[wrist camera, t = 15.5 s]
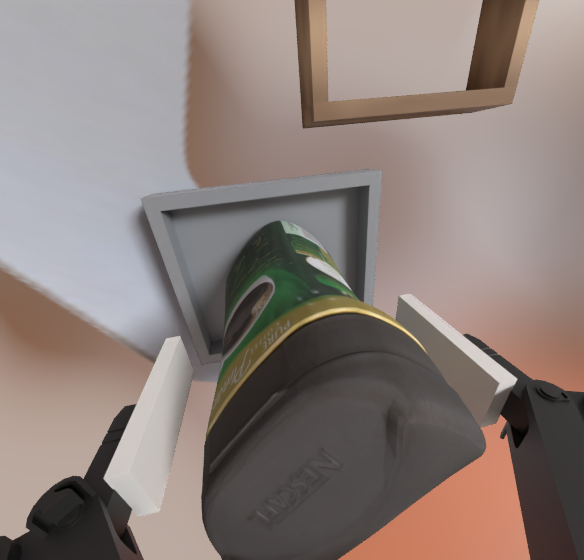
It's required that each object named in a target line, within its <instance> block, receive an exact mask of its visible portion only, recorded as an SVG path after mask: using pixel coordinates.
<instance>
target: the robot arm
mask: <svg viewBox="0 0 584 560" xmlns="http://www.w3.org/2000/svg"><path fill="white" fill-rule="evenodd" d="M396 321H397V322H398V323H400V324H401V325H402V326H403V327H404V328H405V329H406V330H407V331H409V332H410V333H411V334H412V335H413V336H414V337H415V338H416V339H417V340H418V341H419V342H420V344H421V345H422V346H423V347H424V349H425V351H426V352H427V355H428V356H429V357H430V359H431V360H432V361H433V363H434V364H435V365H436V367H437V368H438V369H439V371H440V372H441V374H442V375H443V377H444V378H445V380H446V381H447V383H448V385H450V386H451V387H452V388H453V389H454V390H455V391H456V392H457V393H458V394H459V396H460V398H461V399H462V401H463V402H464V404H465V405H466V407H467V408H468V409H469V411H470V412H471V414H472V415H473V417H474V419H475V420H476V422H477V424H478V425H479V427H484V426H488V425H492V424H495V423H496V422H497V420H498V418H499V416H500V414H501V415H502V416H503V417H504V418H505V419H506V420H507V422H506V424H505V426H504V428H503V430H502V432H501V435H500V438H502V439H504V437H505V435H506V434H507V436H508V442H509V447H510V452H511V458H512V463H513V468H514V474H515V479H516V485H517V490H518V495H519V500H520V506H521V511H522V517H523V522H524V527H525V533H526V538H527V543H528V549H529V554H530V559H531V560H584V392H573V391H564V390H563V389H561V388H559V387H557V386H556V385H554V384H551V383H548V382H546V381H541V380H532V379H531V378H529V377H528V376H527V375H525V374H524V373H523V372H522V371H520V370H519V369H518V368H516V367H515V366H514V365H512V364H511V363H510V362H508V361H507V360H506V359H504V358H503V357H502V356H500V355H498V354H497V353H496V352H495V351H494V350H492V349H490V348H489V346H487V345H486V344H485V343H483V342H482V341H481V340H479V339H477V338H475V337H473V336H471V335H469V334H464V335H461V334H460V333H459V332H458V331H457V330H455V329H454V328H453V327H452V326H450V325H449V324H447V322H445V321H444V320H443V319H441V318H440V317H439V316H438V315H436V314H435V313H434V312H433V311H431V310H430V309H429V308H428V307H426V306H425V305H424V304H423V303H421V302H420V301H419V300H418V299H416V298H415V297H414V296H413V295H411V294H405V295H401V296H399V298H398V306H397V314H396ZM193 374H194V369H193V367H192V364H191V362H190V359H189V357H188V354H187V352H186V349H185V347H184V344H183V342H182V339H181V336H176V337H171V338H166V339H165V342H164V344H163V346H162V348H161V351H160V353H159V355H158V357H157V360H156V362H155V364H154V366H153V369H152V371H151V374H150V375H149V377H148V380H147V382H146V384H145V386H144V389H143V391H142V393H141V395H140V398H139V400H138V402H137V404H134V405H130V406H125V407H124V408H123V409H122V410H121V411H120V413H119V414H118V415H117V416H116V417H115V418H114V420H113V422H112V424H111V426H110V428H109V430H108V434H106V436H105V438H104V440H103V442H102V445H101V446H100V447H99V449H98V451H97V453H96V455H95V457H94V459H93V461H92V463H91V465H90V467H89V469H88V471H87V473H86V475H85V477H84V479H82V478H81V477H80V476H72V477H69V478H66V479H63V480H62V481H60V482H58V483H57V484H55V485H54V486H52V487H51V488H50V489H49V490H48V491H47V492H46V493H45V494H44V495H42V497H41V498H40V499H39V500H38V501H37V503H36V504H35V505H34V506H33V508H32V510H31V512H30V514H29V516H28V518H27V523H26V528H28V529H29V530H30V531H29V532H27V533H25V534H24V535H22V536H20V537H19V538H17V539H15V540H11V539H9V538H8V537H6V536H0V560H144V559H143V557H142V555H141V552H140V550H139V548H138V545H137V543H136V541H135V538H134V536H133V533H132V531H131V529H130V527H129V526H128V525H127V523H128V520H129V517H130V514H131V511H133V512H134V513H135V514H136V515H137V517H141V516H144V515H148V514H152V513H156V512H159V511H160V510H161V506H162V501H163V497H164V493H165V489H166V485H167V481H168V477H169V472H170V468H171V464H172V460H173V456H174V452H175V448H176V444H177V440H178V435H179V431H180V427H181V423H182V419H183V414H184V410H185V407H186V402H187V398H188V394H189V390H190V386H191V382H192V378H193Z"/></svg>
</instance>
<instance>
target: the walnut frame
mask: <svg viewBox="0 0 584 560" xmlns="http://www.w3.org/2000/svg"><path fill="white" fill-rule="evenodd" d="M538 3H539V0H483V3H482V8H481V14H480V18H479V24H478V29H477V35H476V40H475V45H474V51H473V56H472V61H471V66H470V72H469V77H468V83H467V88H466V91H456V92H444V93H431V94H419V95H407V96H395V97H382V98H371V99H358V100H347V101H333V102H328V71H327V25H326V24H327V23H326V0H295V12H296V27H297V44H298V60H299V74H300V75H299V76H300V90H301V91H300V92H301V105H302V106H301V107H302V123H303V128H312V127H323V126H334V125H344V124H355V123H365V122H377V121H387V120H397V119H409V118H419V117H430V116H441V115H450V114H462V113H472V112H477V111H481V110H486V109H490V108H495V107H499V106H504V105H508V104H512V102H513V98H514V94H515V90H516V86H517V83H518V79H519V75H520V72H521V68H522V64H523V60H524V57H525V52H526V48H527V45H528V41H529V38H530V34H531V30H532V26H533V22H534V19H535V15H536V11H537V7H538Z"/></svg>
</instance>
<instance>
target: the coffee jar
mask: <svg viewBox="0 0 584 560" xmlns="http://www.w3.org/2000/svg"><path fill="white" fill-rule="evenodd" d="M485 449H486V442H485V437H484V434H483V432H482V430H481V429H480V427H479V425H478V424H477V422H476V420H475V419H474V417H473V415H472V414H471V412H470V411H469V409H468V408H467V407H466V405H465V404H464V402H463V401H462V399H461V398H460V396H459V394H458V393H457V392H456V391H455V390H454V389H453V388H452V387H451V386H450V385H448V383H447V381H446V380H445V378H444V377H443V375H442V374H441V372H440V371H439V369H438V368H437V367H436V365H435V364H434V363H433V361H432V360H431V359H430V357H429V356H428V355H427V352H426V351H425V349H424V347H423V346H422V345H421V344H420V342H419V341H418V340H417V339H416V338H415V337H414V336H413V335H412V334H411V333H410V332H409V331H407V330H406V329H405V328H404V327H403V326H402V325H401V324H400V323H398V322H397V321H396V320H394V319H393V318H392V317H390V316H389V315H387V314H386V313H384V312H382V311H380V310H379V309H377V308H375V307H373V306H371V305H369V304H366V303H364V302H362V301H360V300H359V299H358V298H357V297H356V296H355V294H354V293H353V292H352V290H351V288H350V287H349V285H348V284H347V282H346V281H345V279H344V278H343V276H342V274H341V273H340V271H339V269H338V268H337V266H336V264H335V262H334V261H333V259H332V257H331V256H330V254H329V253H328V251H327V250H326V249H325V248H324V246H323V245H322V244H321V243H320V242H319V241H318V240H317V239H316V238H315V237H314V236H313V235H311V234H310V233H309V232H307V231H306V230H304V229H303V228H301V227H299V226H297V225H296V224H294V223H291V222H288V221H274V222H271V223H268V224H267V225H265V226H263V227H262V228H261V229H260V230H259V231H258V232H257V233H256V234H255V235H254V237H253V238H252V239H251V240H250V241H249V242H248V244H247V245H246V246H245V248H244V249H243V251H242V252H241V254H240V255H239V257H238V258H237V260H236V261H235V263H234V265H233V267H232V269H231V271H230V273H229V275H228V278H227V281H226V289H225V320H224V336H223V349H222V359H221V366H220V372H219V377H218V383H217V388H216V392H215V397H214V401H213V406H212V410H211V415H210V419H209V424H208V429H207V434H206V441H205V446H204V467H203V487H202V496H201V497H202V498H201V499H202V519H203V524H204V527H205V530H206V533H207V535H208V538H209V539H210V541H211V543H212V545H213V546H214V548H215V549H216V550H217V552H218V553H219V554H220V556H221V558H222V560H338V559H339V558H340V557H342V556H343V555H345V554H346V553H347V552H349V551H350V550H352V549H353V548H354V547H356V546H358V545H359V544H360V543H362V542H363V541H365V540H366V539H367V538H369V537H370V536H372V535H373V534H375V533H376V532H377V531H379V530H380V529H381V528H382V527H384V526H385V525H386V524H388V523H389V522H390V521H391V520H393V519H394V518H395V517H397V516H398V515H399V514H400V513H402V512H403V511H404V510H406V509H407V508H408V507H410V506H411V505H412V504H414V503H415V502H416V501H418V500H419V499H420V498H422V497H423V496H424V495H426V494H427V493H428V492H430V491H431V490H432V489H434V488H435V487H436V486H438V485H439V484H441V483H442V482H443V481H445V480H446V479H447V478H449V477H450V476H452V475H453V474H455V473H456V472H458V471H459V470H461V469H462V468H464V467H465V466H467V465H468V464H470V463H471V462H473V461H474V460H476V459H478V458H479V457H481V456H482V455H483V453H484V452H485Z"/></svg>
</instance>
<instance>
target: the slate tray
mask: <svg viewBox="0 0 584 560" xmlns="http://www.w3.org/2000/svg"><path fill="white" fill-rule="evenodd" d="M381 183H382V170H374V169H364V170H355V171H347V172H338V173H329V174H320V175H312V176H303V177H295V178H287V179H278V180H269V181H260V182H252V183H243V184H236V185H227V186H218V187H210V188H200V189H192V190H183V191H175V192H166V193H157V194H152V195H149V196H146V197H143V198H140V199H141V202H142V204H143V207H144V210H145V212H146V215H147V218H148V221H149V223H150V226H151V229H152V231H153V234H154V237H155V240H156V242H157V245H158V248H159V250H160V253H161V256H162V259H163V261H164V264H165V267H166V270H167V272H168V275H169V278H170V280H171V283H172V286H173V289H174V291H175V294H176V297H177V299H178V302H179V305H180V308H181V310H182V313H183V316H184V318H185V321H186V324H187V327H188V329H189V332H190V335H191V338H192V340H193V343H194V346H195V348H196V351H197V354H198V357H199V359H200V362H201V365H204V364H209V363H214V362H219V361H221V359H222V349H223V336H224V320H225V289H226V281H227V278H228V275H229V273H230V271H231V269H232V267H233V265H234V263H235V261H236V260H237V258H238V257H239V255H240V254H241V252H242V251H243V249H244V248H245V246H246V245H247V244H248V242H249V241H250V240H251V239H252V238H253V237H254V235H255V234H256V233H257V232H258V231H259V230H260V229H261V228H262V227H263V226H265V225H267V224H268V223H271V222H274V221H288V222H291V223H294V224H296V225H297V226H299V227H301V228H303V229H304V230H306V231H307V232H309V233H310V234H311V235H313V236H314V237H315V238H316V239H317V240H318V241H319V242H320V243H321V244H322V245H323V246H324V248H325V249H326V250H327V251H328V253H329V254H330V256H331V257H332V259H333V261H334V262H335V264H336V266H337V268H338V269H339V271H340V273H341V274H342V276H343V278H344V279H345V281H346V282H347V284H348V285H349V287H350V288H351V290H352V292H353V293H354V294H355V296H356V297H357V298H358V299H359V300H360V301H362V302H364V303H366V304H369V305H371V306H373V297H374V283H375V269H376V254H377V239H378V225H379V210H380V196H381Z"/></svg>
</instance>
